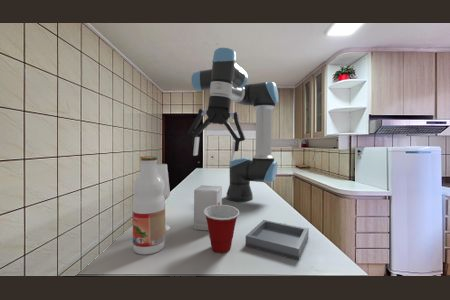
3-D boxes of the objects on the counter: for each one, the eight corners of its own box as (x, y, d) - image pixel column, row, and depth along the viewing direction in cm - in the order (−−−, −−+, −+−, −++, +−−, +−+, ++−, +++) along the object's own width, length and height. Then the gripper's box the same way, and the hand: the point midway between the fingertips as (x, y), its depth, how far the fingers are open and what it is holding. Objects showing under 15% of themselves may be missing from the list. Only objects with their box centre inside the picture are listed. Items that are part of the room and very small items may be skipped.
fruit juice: (166, 252, 63) (165, 157, 62) (131, 257, 60) (130, 158, 58) (164, 238, 71) (164, 155, 70) (134, 242, 68) (133, 155, 67)
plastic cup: (210, 261, 58) (210, 218, 57) (199, 244, 68) (199, 206, 67) (245, 253, 62) (246, 213, 62) (230, 238, 72) (230, 203, 72)
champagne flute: (161, 223, 85) (161, 163, 84) (173, 227, 81) (173, 164, 80) (147, 229, 79) (146, 164, 78) (160, 233, 75) (159, 166, 74)
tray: (263, 228, 81) (263, 219, 80) (308, 237, 72) (308, 228, 72) (245, 245, 67) (245, 235, 67) (298, 260, 59) (298, 249, 59)
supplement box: (216, 232, 77) (217, 190, 76) (193, 229, 79) (193, 189, 78) (222, 222, 86) (222, 185, 85) (200, 220, 88) (201, 184, 87)
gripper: (181, 92, 72) (176, 154, 74) (255, 97, 67) (247, 164, 69) (190, 95, 79) (184, 152, 81) (257, 101, 74) (249, 161, 76)
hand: (213, 157), depth 75 cm, fingers open, 13 cm apart
